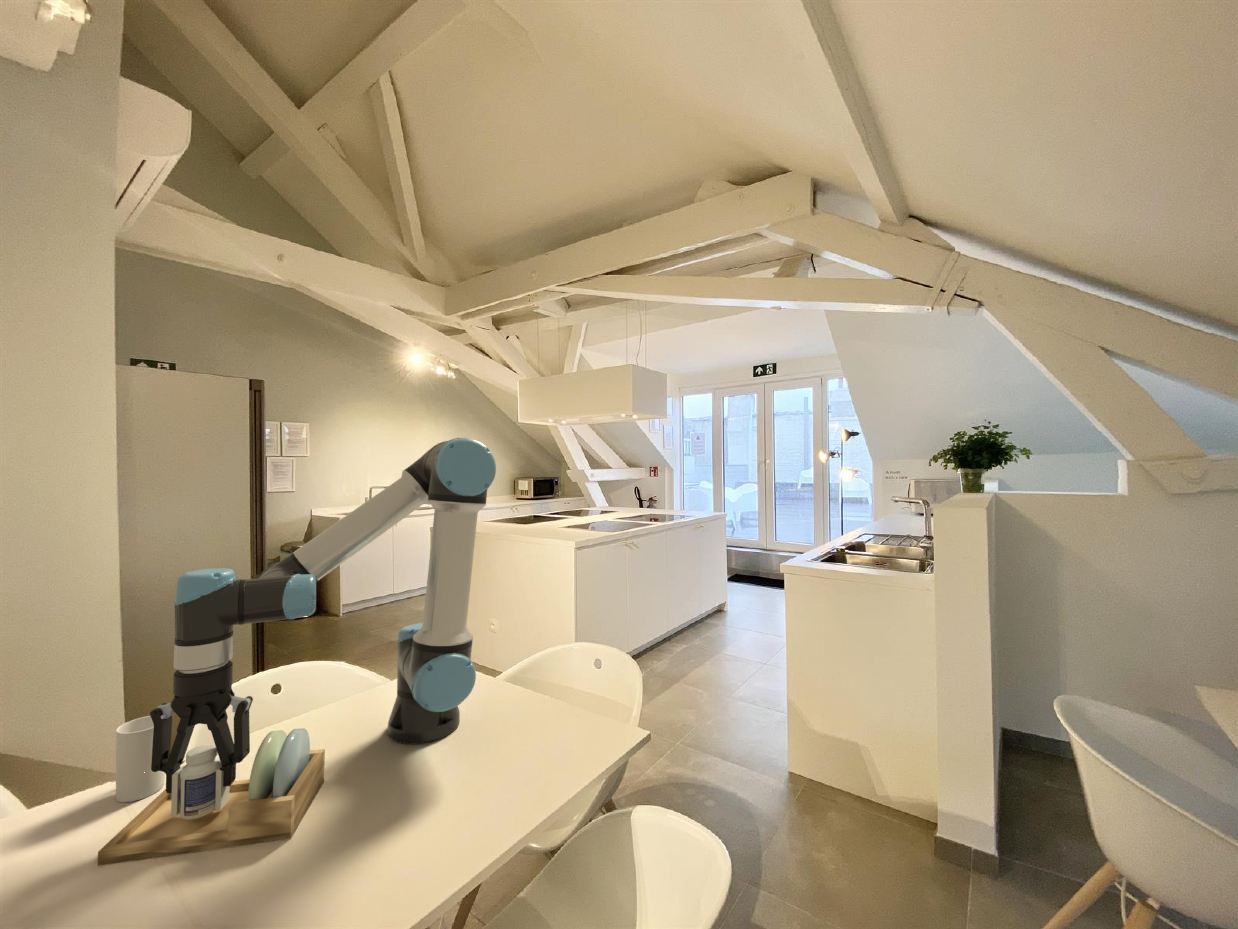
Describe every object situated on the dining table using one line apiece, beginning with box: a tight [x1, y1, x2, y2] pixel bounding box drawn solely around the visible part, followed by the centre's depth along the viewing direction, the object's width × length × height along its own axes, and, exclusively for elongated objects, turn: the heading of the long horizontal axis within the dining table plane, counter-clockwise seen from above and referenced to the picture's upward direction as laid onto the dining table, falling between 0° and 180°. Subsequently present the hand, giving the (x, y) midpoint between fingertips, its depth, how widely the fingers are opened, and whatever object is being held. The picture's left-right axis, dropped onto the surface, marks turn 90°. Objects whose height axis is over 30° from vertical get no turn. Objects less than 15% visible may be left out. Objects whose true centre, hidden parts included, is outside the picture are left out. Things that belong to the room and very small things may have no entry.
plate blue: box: [273, 727, 311, 798], centre depth 85 cm, size 1×12×12 cm, turn 13°
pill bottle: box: [179, 743, 221, 820], centre depth 82 cm, size 5×5×10 cm
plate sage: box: [248, 729, 288, 801], centre depth 85 cm, size 1×12×12 cm, turn 13°
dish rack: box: [97, 748, 326, 867], centre depth 83 cm, size 25×15×6 cm, turn 103°
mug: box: [115, 715, 166, 803], centre depth 92 cm, size 10×7×12 cm, turn 16°
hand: (201, 807), depth 82 cm, fingers closed on pill bottle, 5 cm apart
